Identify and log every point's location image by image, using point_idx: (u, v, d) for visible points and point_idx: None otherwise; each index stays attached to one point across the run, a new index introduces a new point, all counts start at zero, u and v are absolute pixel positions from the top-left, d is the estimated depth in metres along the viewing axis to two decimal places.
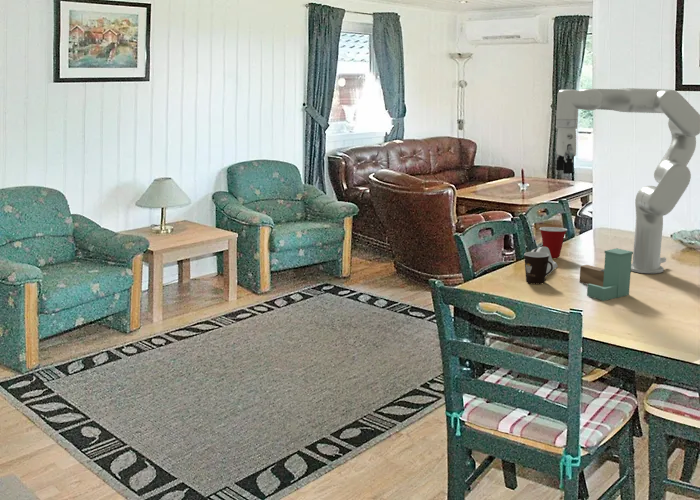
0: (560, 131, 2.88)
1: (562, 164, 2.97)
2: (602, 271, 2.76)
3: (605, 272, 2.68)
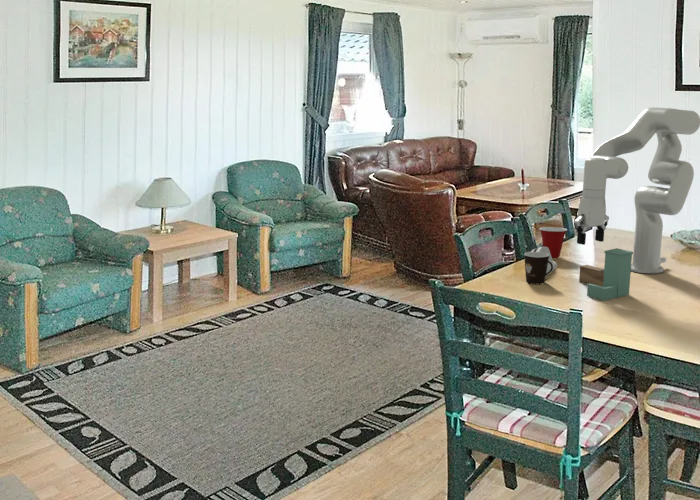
0: (601, 201, 2.76)
1: None
2: (602, 271, 2.76)
3: (605, 272, 2.68)
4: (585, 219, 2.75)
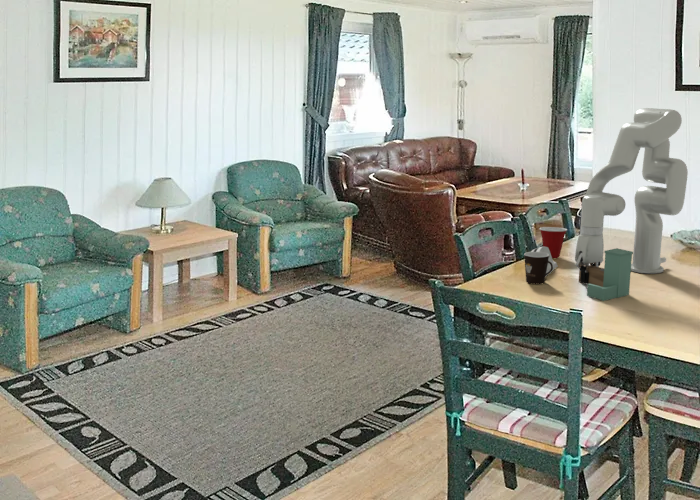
0: (599, 238, 2.79)
1: None
2: (601, 270, 2.76)
3: (605, 272, 2.68)
4: (583, 256, 2.78)
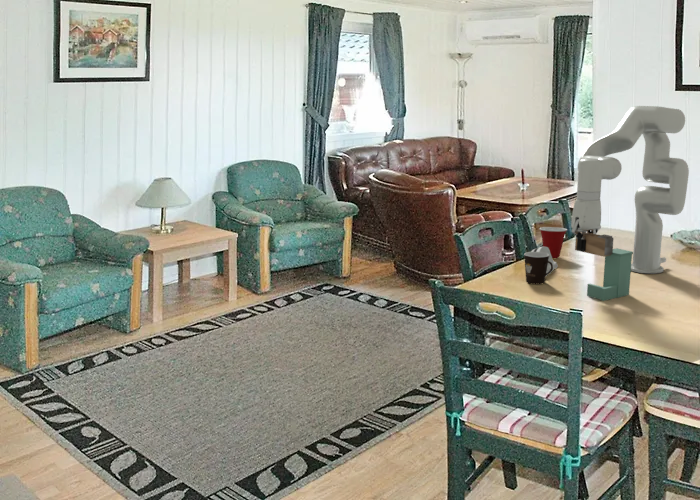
0: (596, 203, 2.66)
1: None
2: (599, 237, 2.63)
3: (605, 272, 2.68)
4: (580, 222, 2.65)
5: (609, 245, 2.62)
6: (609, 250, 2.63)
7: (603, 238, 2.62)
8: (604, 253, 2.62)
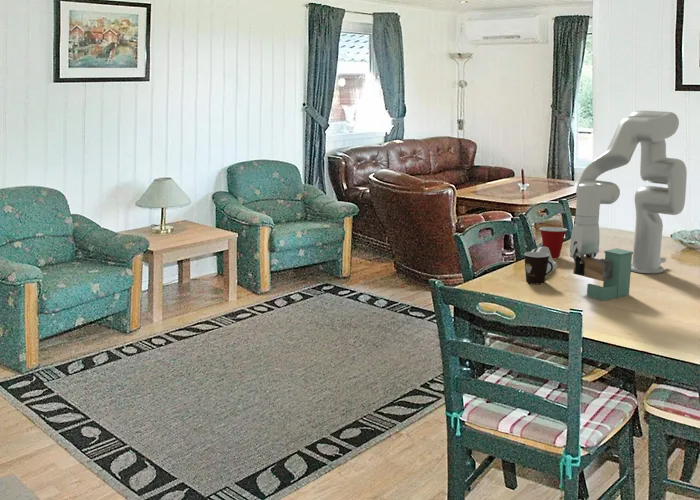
0: (595, 228, 2.68)
1: None
2: (597, 261, 2.65)
3: None
4: (578, 247, 2.66)
5: (607, 269, 2.64)
6: (607, 274, 2.64)
7: (601, 263, 2.63)
8: (602, 277, 2.64)
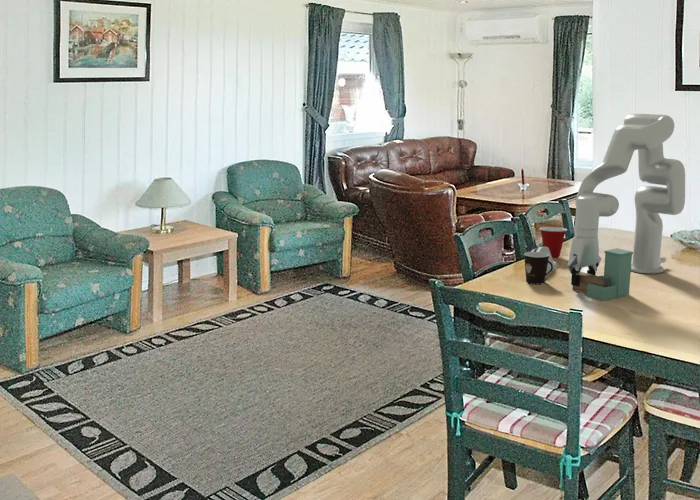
0: (594, 240, 2.69)
1: None
2: (596, 278, 2.66)
3: (605, 272, 2.68)
4: (577, 259, 2.67)
5: (606, 286, 2.66)
6: None
7: (600, 280, 2.65)
8: None
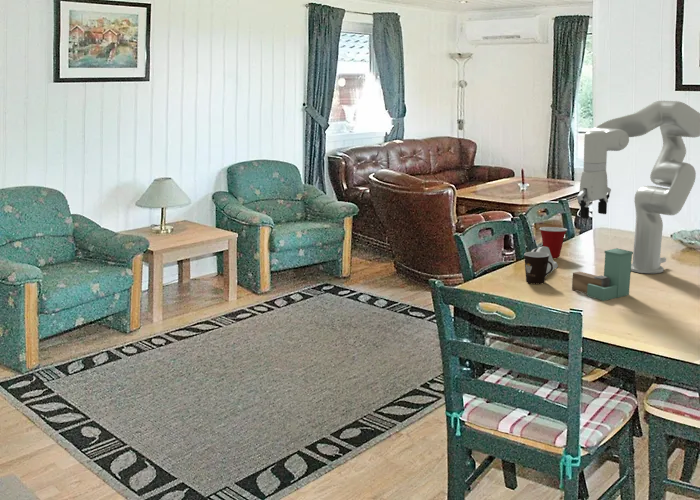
0: (603, 174, 2.76)
1: None
2: (595, 278, 2.67)
3: (605, 272, 2.68)
4: (588, 193, 2.75)
5: (606, 286, 2.66)
6: None
7: (599, 279, 2.65)
8: None
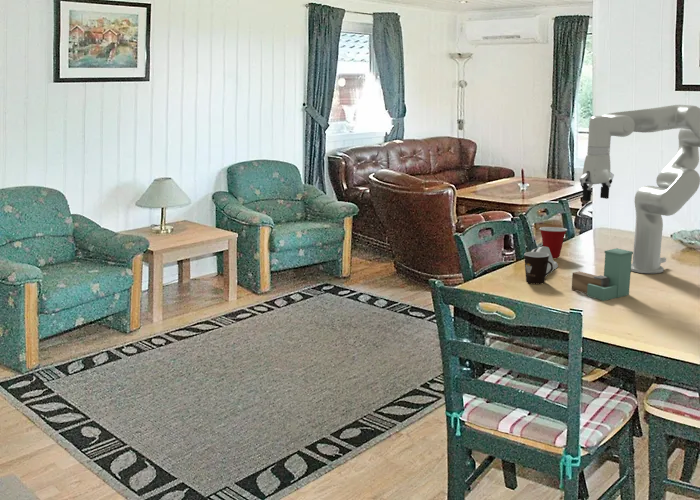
0: (606, 158, 2.82)
1: None
2: (595, 278, 2.67)
3: (605, 272, 2.68)
4: (590, 176, 2.81)
5: (605, 286, 2.66)
6: None
7: (599, 279, 2.65)
8: None
